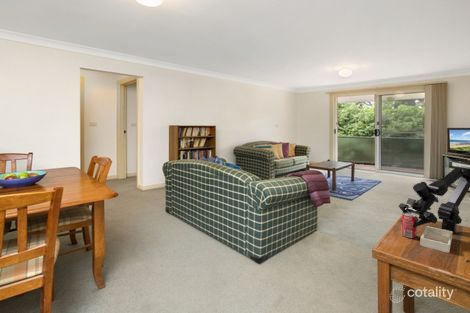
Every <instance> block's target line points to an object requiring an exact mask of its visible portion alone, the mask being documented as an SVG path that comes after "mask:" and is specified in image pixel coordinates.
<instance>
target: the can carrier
mask: <svg viewBox="0 0 470 313" xmlns="http://www.w3.org/2000/svg"><path fill="white" fill-rule="evenodd" d="M452 233H453V232H452V231H448V230H443V229H441V228H438V227H432V226H428V225H426V226H425V228H424V230H423V231H422V234H421V236H420V241H419V246H420V247H424V248H427V249H432V250H435V251H439V252H444V253H447V254H450V250H451V246H452V240H453V234H452Z"/></svg>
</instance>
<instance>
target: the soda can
mask: <svg viewBox="0 0 470 313" xmlns="http://www.w3.org/2000/svg"><path fill="white" fill-rule="evenodd" d="M417 215H418V214H415V213H412V212H411V213H404V215H403V216H402V215H401V218H402V222H401V221H400V222H401V225H400V226H401V228H400V233H401V235H402V236H403V237H405V238H408V239H414V238H416V237H417V234H418V226H417V227H415V228H414V227H413V225H414V223H415V222H416V221H417V219H418V217H417Z"/></svg>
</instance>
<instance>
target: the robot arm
mask: <svg viewBox="0 0 470 313" xmlns="http://www.w3.org/2000/svg"><path fill="white" fill-rule="evenodd" d="M457 180H460V181H459V182H458V184H457V186H456V188H455V189H454V191H453V193H452V194H451V196H450V197H449V199H448V200H447V202H441V203H440V206H438V208H437V209H438V210H437V216H438V218H437V216H436V215H435V214H434V213H433V212H430V211H431V209H432V208H431V206H433V204H434V203H438V204H439V198H438V197H437V196H439V197H443V196H444V195H445V194H446V193H447V192H448V191H449V187H450V186H451V185H454V183H455V182H457ZM412 189H413V191H414V193H416V195H417V196H418V197H419V199H415V198H412V197H411V198H410V197H408V198H407V201H406V203H404V202H403V203H400V204H399V205H398V208H399V209H400V210H401V211H402V215H401V217H400V218H401V219H400V222H402V216H403V215H404V213H412V214H415V215H418V217H417V221H416V222H415V223H414V225H413V227H414V228H415V227H417V228H418V227H419V226H420V227H421V226H422V225H426V224H430V223H432V224H434V225H435V224H437V222H438V219H439V220H442V222H441V228H440V229H443V230H448V231H452V232H453V233H452V235H454V234H460V232H459V231H457V225H460V224H461V223H462V221H463V220H462V218H461V217H460V215H459V214H460V209H459V206H460V205H461V203H462V201H463V200H464V198H465V196H466V194H467V193H468V191H469V190H470V168H469V167H462V166H455V167H454V168H453V170H451V171H450V172H449V173H447V174H445V175H444V176H443V177H442V178H441V179H439V180H435V181H433V182H431V183H429V184H427V182H425V181H420V182H417V183H416V184H413V186H412ZM409 205H410V206H409Z"/></svg>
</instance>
